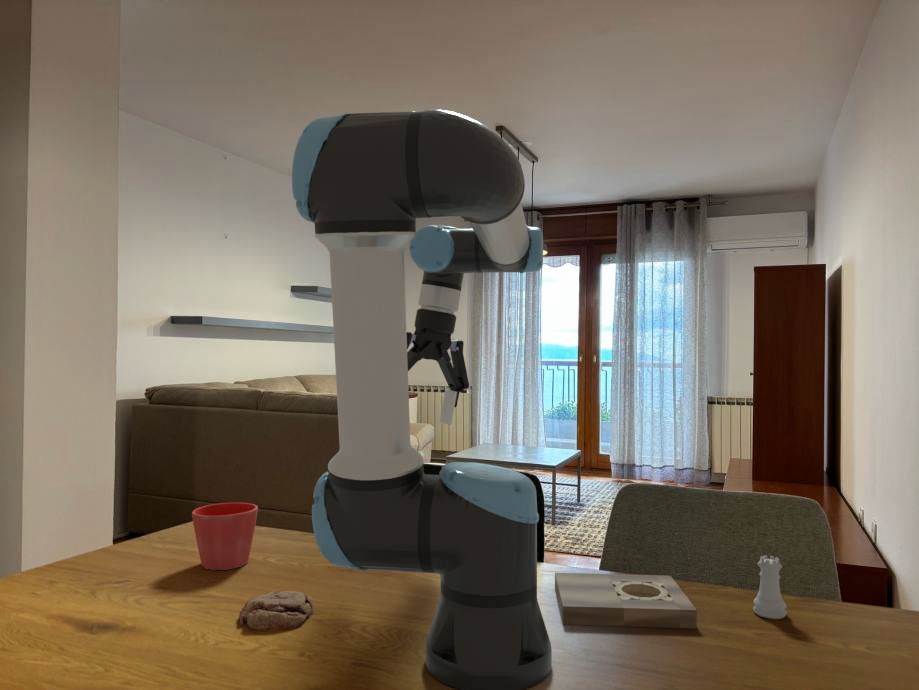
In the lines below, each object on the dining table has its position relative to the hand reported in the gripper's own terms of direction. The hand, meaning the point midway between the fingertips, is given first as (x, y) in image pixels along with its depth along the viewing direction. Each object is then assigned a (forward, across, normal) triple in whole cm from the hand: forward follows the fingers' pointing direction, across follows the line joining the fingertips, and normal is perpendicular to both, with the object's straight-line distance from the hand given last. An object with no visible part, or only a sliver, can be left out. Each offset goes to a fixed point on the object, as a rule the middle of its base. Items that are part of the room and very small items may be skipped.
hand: (417, 422), depth 125 cm
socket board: (+18, -9, +44) cm, 48 cm away
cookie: (+26, +31, +16) cm, 43 cm away
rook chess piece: (+14, -23, +59) cm, 65 cm away
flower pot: (+29, +28, -12) cm, 42 cm away
